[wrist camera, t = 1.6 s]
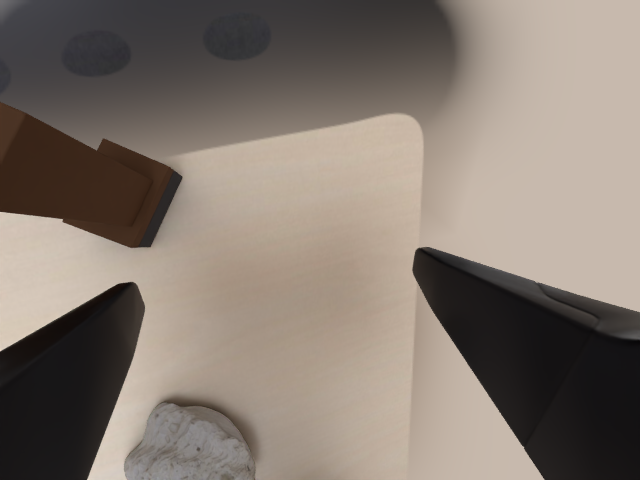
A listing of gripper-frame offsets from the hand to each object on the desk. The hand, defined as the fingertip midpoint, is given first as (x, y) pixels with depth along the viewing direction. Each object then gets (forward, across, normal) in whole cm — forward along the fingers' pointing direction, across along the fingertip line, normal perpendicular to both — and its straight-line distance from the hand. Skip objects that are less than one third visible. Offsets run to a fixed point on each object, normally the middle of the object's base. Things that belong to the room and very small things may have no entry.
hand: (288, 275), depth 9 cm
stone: (+6, +8, +20) cm, 22 cm away
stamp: (+15, +10, +2) cm, 18 cm away
